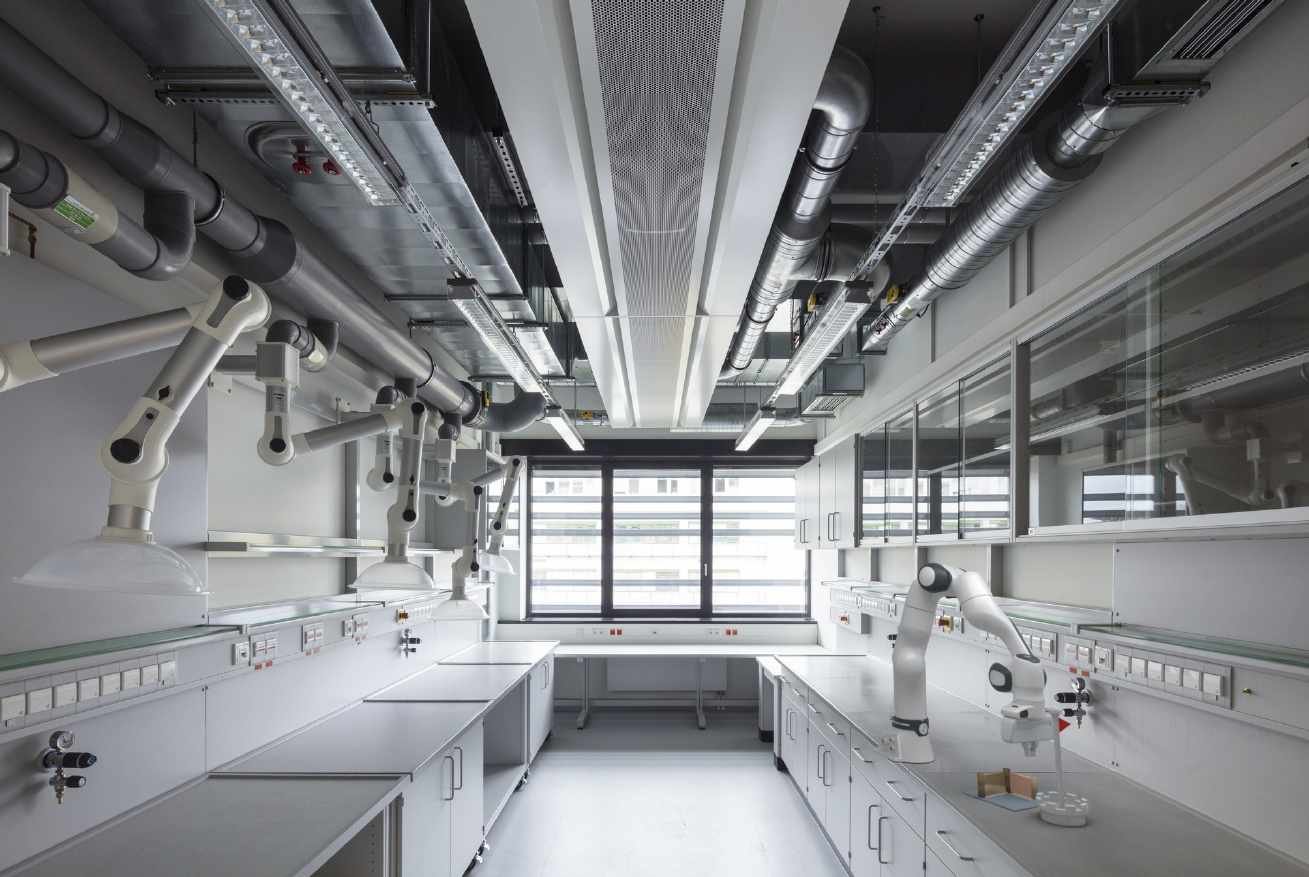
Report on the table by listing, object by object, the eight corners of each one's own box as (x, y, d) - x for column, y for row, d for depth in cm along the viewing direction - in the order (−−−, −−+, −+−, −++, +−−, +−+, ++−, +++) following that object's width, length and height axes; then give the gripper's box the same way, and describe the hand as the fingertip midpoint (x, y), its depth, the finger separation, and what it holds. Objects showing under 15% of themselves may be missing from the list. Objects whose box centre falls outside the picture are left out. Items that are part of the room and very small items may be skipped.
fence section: (1014, 790, 238) (1012, 770, 239) (1039, 798, 230) (1038, 777, 231) (1009, 791, 237) (1008, 770, 238) (1035, 799, 230) (1034, 778, 230)
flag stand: (1061, 829, 208) (1052, 712, 212) (1026, 813, 221) (1018, 703, 225) (1101, 824, 212) (1091, 709, 216) (1064, 809, 224) (1056, 700, 228)
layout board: (962, 792, 239) (962, 791, 239) (1016, 782, 249) (1016, 781, 249) (1015, 811, 222) (1015, 810, 222) (1070, 799, 232) (1070, 798, 232)
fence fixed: (976, 795, 235) (975, 772, 236) (1007, 789, 241) (1005, 767, 242) (982, 797, 233) (981, 774, 234) (1013, 791, 239) (1011, 769, 240)
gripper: (1044, 705, 248) (1045, 750, 246) (996, 708, 240) (997, 755, 238) (1062, 709, 242) (1063, 756, 240) (1013, 713, 234) (1014, 761, 232)
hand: (1030, 756), depth 239 cm, fingers closed
